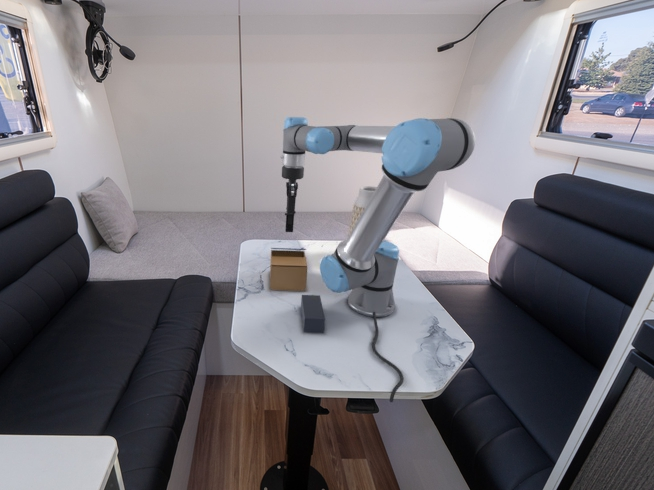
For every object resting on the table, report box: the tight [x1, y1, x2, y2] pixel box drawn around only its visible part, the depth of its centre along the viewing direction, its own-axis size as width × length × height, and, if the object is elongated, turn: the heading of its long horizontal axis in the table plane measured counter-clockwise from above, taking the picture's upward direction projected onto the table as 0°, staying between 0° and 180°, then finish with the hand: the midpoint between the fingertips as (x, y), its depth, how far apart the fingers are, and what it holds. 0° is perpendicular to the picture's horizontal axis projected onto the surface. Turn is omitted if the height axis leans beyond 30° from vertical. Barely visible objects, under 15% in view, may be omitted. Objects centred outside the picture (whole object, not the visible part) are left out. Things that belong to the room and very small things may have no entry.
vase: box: [346, 185, 377, 240], centre depth 156 cm, size 14×14×31 cm
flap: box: [270, 247, 307, 251], centre depth 141 cm, size 7×13×1 cm, turn 89°
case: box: [300, 294, 326, 334], centre depth 118 cm, size 14×6×5 cm, turn 178°
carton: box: [269, 249, 308, 292], centre depth 140 cm, size 15×13×10 cm
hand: (289, 231), depth 137 cm, fingers closed
